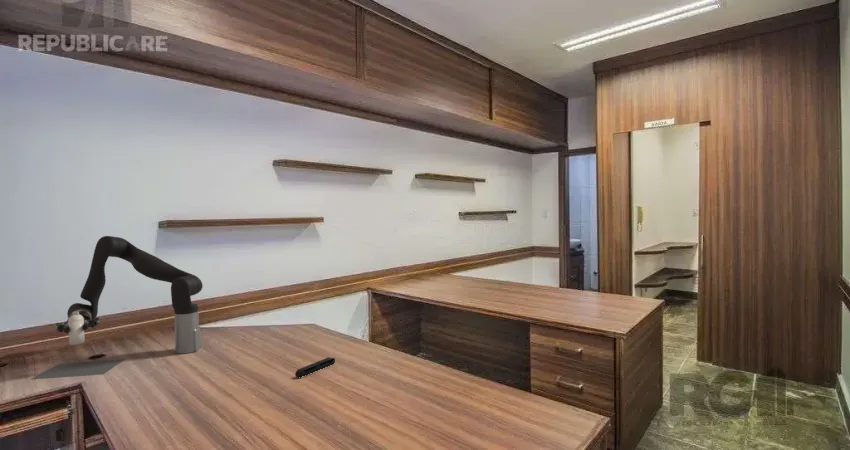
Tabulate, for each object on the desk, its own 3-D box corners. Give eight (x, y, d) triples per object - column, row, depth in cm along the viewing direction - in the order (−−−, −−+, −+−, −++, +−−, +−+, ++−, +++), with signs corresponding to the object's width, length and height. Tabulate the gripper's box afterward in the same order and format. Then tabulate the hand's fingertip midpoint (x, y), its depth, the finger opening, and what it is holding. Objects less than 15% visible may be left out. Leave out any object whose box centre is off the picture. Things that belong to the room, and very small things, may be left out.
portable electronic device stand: (299, 379, 153) (299, 371, 153) (295, 378, 154) (295, 370, 154) (335, 364, 167) (335, 357, 167) (331, 363, 169) (331, 356, 169)
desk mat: (125, 360, 172) (125, 359, 172) (103, 375, 156) (103, 374, 156) (59, 364, 167) (59, 363, 167) (29, 380, 152) (29, 379, 152)
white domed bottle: (87, 340, 164) (86, 310, 163) (80, 344, 159) (78, 313, 159) (74, 341, 163) (72, 310, 162) (66, 345, 158) (64, 313, 158)
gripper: (56, 313, 168) (50, 322, 154) (100, 308, 176) (98, 316, 163) (57, 331, 168) (51, 342, 155) (101, 325, 177) (99, 335, 163)
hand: (75, 329), depth 159 cm, fingers closed on white domed bottle, 4 cm apart
